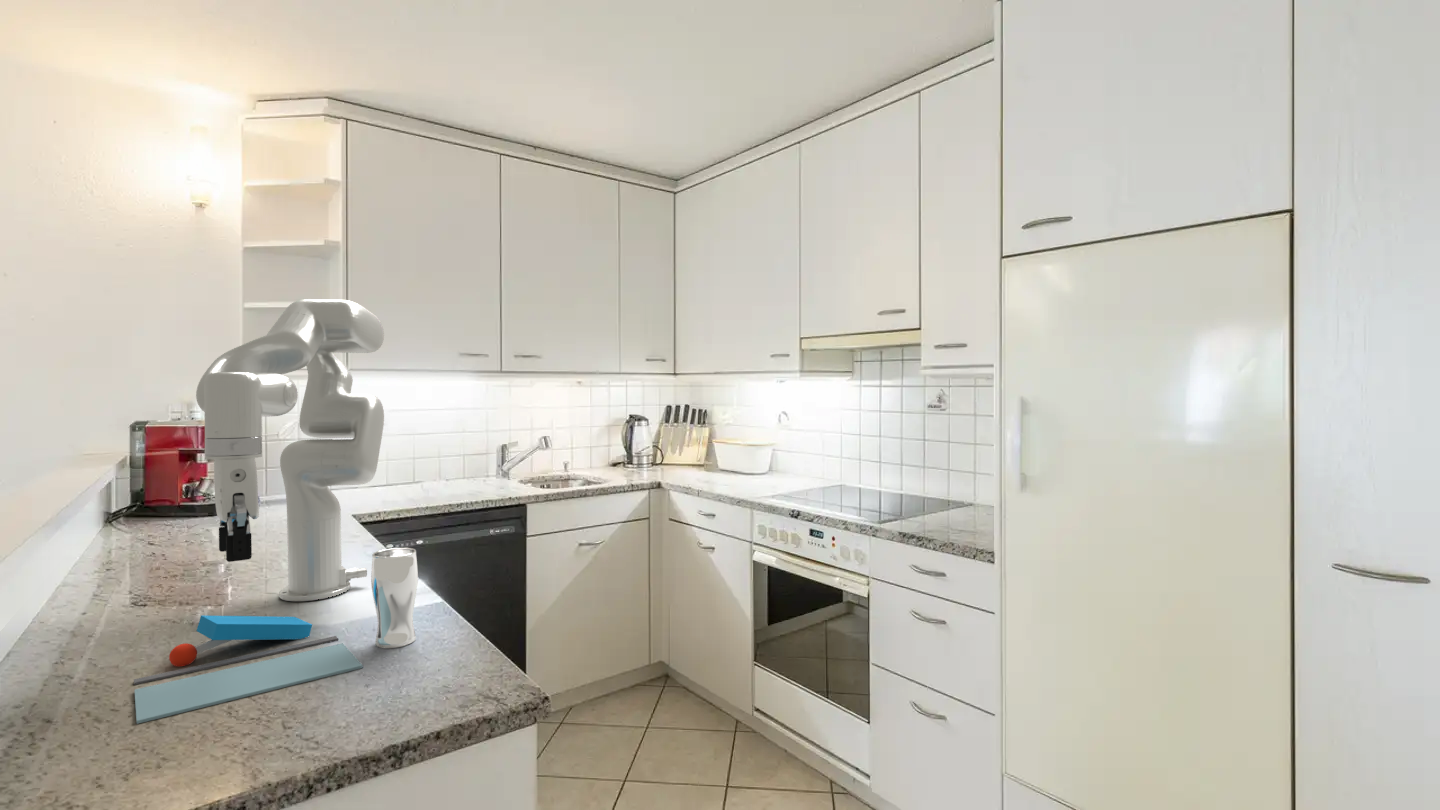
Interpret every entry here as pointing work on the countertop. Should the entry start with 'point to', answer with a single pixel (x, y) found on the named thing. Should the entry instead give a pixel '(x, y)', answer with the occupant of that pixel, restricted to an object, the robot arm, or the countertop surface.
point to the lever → (239, 633)
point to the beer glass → (394, 595)
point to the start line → (232, 660)
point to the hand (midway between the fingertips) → (234, 555)
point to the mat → (241, 682)
